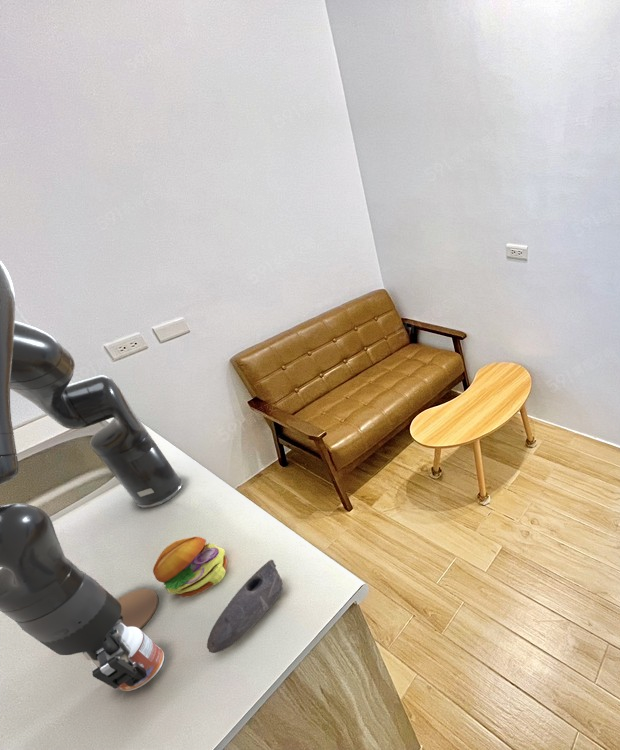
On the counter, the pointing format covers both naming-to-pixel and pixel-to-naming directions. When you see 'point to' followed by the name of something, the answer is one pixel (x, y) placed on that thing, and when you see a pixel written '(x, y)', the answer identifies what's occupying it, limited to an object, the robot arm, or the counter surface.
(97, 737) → the counter surface
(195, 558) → the cheeseburger
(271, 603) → the perforated stone tool
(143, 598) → the coaster
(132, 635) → the pill bottle
